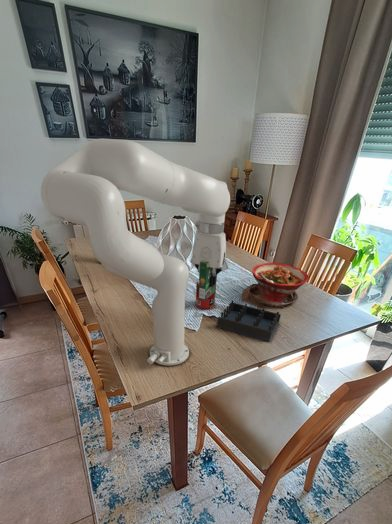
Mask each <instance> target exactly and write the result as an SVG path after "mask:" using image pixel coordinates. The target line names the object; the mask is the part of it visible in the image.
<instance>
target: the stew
mask: <svg viewBox="0 0 392 524" xmlns="http://www.w3.org/2000/svg"><path fill="white" fill-rule="evenodd" d="M251 274H252V276H253V278H254V280H255V281H256V283H253V284H251V285H249V286H247V287H245V288H244V289H243V291H242V293H241V295H240V296H241V297H240V299H241V302H245V303H248V304H250V305H253V306H256V307H261V308H269V309H270V308H272V309H274V308H275V309H280V308H287V307H289V306H292V304H293V303H295V302H296V301H297V300H298V298H299V295H298V293H297V292H296V291H297V290H298V289H299V288H301V287H302V286H303V285H305V284H306V283H307V282H308V281H309V275H308V273H307V272H305V271H304V270H302V269H301V268H299V267H296V266H293V265H290V264H287V263H281V262H265V263H259V264H256V265H255V266H254V267H252V269H251ZM295 297H296V298H295ZM285 299H286V300H287V301H286V300H285ZM285 301H286V302H285Z"/></svg>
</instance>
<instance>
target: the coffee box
mask: <svg viewBox="0 0 392 524" xmlns="http://www.w3.org/2000/svg"><path fill="white" fill-rule="evenodd" d="M198 274H199V273H198ZM211 275H212V267H209V262H205V261H201V262H200V274H199V275H198V279H199V299H202V300H206V299H207V298H208V297H210V296H211V295H212V294H213V293H214V292H215V285H214V286H213V287H210V276H211Z"/></svg>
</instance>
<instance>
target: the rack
mask: <svg viewBox="0 0 392 524" xmlns="http://www.w3.org/2000/svg"><path fill="white" fill-rule="evenodd" d="M265 308H266V307H262V309H261V308H257V307H253V306H250V305H248V304H247V303H245V304H242V303H237V302H234V299H233V300H231V301H230V302H229V304H228V305H226V308H224V309H223V311H221V312H220V316H217V323H216V324H217V325H216V327H217V328H220V329H223V330H226V331H230V332H234V333H237V334H241V335H243V336H246V337H247V336H248V337H251V338H254V339H258V340H261V341H265V342H268V343H270V341H271V339H272V338H273V336H274V334H275V332H276V330H277V328H278V326H279V324H280V319H281V316H282V315H281V313H280V311H276V312H274V311H273V312H272V311H269V310H265Z"/></svg>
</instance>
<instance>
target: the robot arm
mask: <svg viewBox="0 0 392 524" xmlns="http://www.w3.org/2000/svg"><path fill="white" fill-rule="evenodd" d="M121 191H124V192H127V193H131V194H133V195H137V196H139V197H142V198H146V199H147V200H150V201H154V202H157V203H158V204H163V205H167V206H171V207H176V208H181V210H183V211H185V212H189V213H194V214H198V215H199V219H198V221H195V223H194V226H195V227H198V229H197V230H196V231H195V235H194V240H193V241H194V242H193V247H192V255H191V258H190V260H189V262H190V263H191V265H192V266H194V267H195V268H196V270H197V273H198V274H200V262H201V261H205V262H209V267H212V275H211V276H210V287H213V286H214V285H215V284H216V285H217V282H218V281H217V280H218V274H220V273H222V272H225V271H227V270H228V269H229V265H228V262H227V259H226V258H227V239H226V233H225V232H224V230H225V220H226V219H225V218H226V212H227V211H228V210H229V208H230V204H231V195H230V191H229V189H228V184H227V183H226V182H225V181H223V180H218V179H216V178H214V177H212V176H210V175H207V174H205V173H201V172H199V171H196V170H193V169H191V168H189V167H186V166H184V165H180V164H178V163H175V162H173V161H171V160H170V159H168V158H165V157H164V156H162V155H160V154H158V153H156V152H155V151H153V150H152V149H150V148H148V147H146V146H144V145H143V144H141V143H139V142H136V141H134V140H130V139H118V138H117V139H116V138H115V139H114V138H96V139H93V140H91V141H88V142H87V143H86V144H84V145H83V146H81V147H79V149H78V150H76V151H74V152H73V153H72V154H71V155H69V156H67V158H65V159H64V160H62V161H61V162H60V163H58V164H57V165H55V166H54V167H53V168H52V169H50V170H49V171H48V172H47V173H46V175H45V176H44V178H43V179H42V181H41V185H40V199H41V201H42V203H43V205H44V207H45V209H46V210H47V211H48V212H49V213H50V214H51V215H52V216H53V217H55V218H56V219H59V220H61V221H64V222H68V223H73V224H76V225H80V226H83V227H87V229H88V234H89V240H90V242H89V243H90V247H91V250H92V253H93V256H94V257H95V259H96V260H97V261H98V262H99V263H100V262H101V263H102V264H101V263H100V264H101V265H102V267H103V268H104V269H105V270H106V271H107V272H109V273H111V274H113V275H116V276H119V277H121V278H122V279H123V278H124V279H126V280H129V281H131V282H134V283H137V284H139V285H142V286H145V287H147V288H151V289H153V290H156V292H157V294H156V296H155V297H154V298H153V300H152V303H151V313H152V314H151V316H152V333H153V345H152V346H151V347H150V349H149V357H148V358H147V359H146V361H147V363H148V364H150V365H152V364H154V363H156V364H157V365H161V366H165V367H166V366H167V367H168V366H177V365H180V364H182V363H183V362H185V361H187V359H188V358H189V355H190V350H189V346H187V345H186V343H185V331H186V330H185V327H186V324H185V323H186V322H185V321H186V296H187V290H188V284H189V280H190V269H189V267H188V265H187V263H186V262H184V261H183V260H181V259H180V258H178V257H175V256H172V255H169V254H165V253H161V252H160V251H159V249H157V248H156V247H155V245H153V244H151V243H150V242H147V241H146V240H144V239H142V238H140V237H139V236H137V235H135V234H134V233H133V232H131V231H130V230H128V225H127V213H126V212H127V210H126V204H125V200H124V198H123V195H122V192H121Z"/></svg>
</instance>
